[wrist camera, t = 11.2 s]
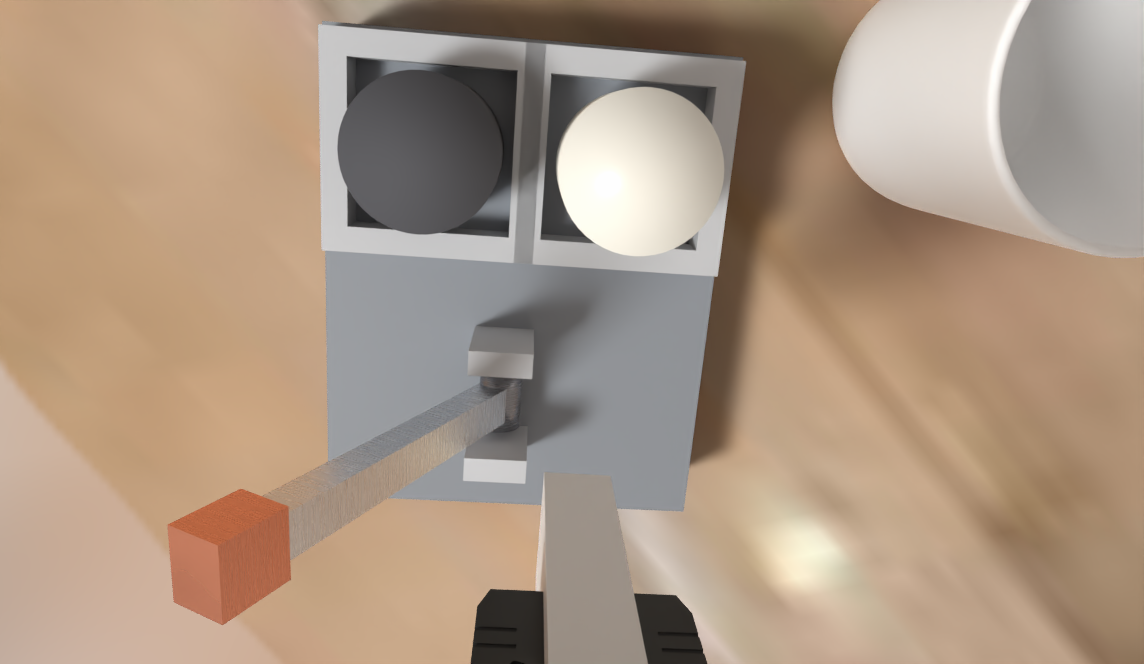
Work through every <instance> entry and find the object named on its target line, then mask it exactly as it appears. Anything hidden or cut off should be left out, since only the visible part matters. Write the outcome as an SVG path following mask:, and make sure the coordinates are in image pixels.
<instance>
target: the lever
mask: <svg viewBox="0 0 1144 664" xmlns="http://www.w3.org/2000/svg"><path fill="white" fill-rule="evenodd" d="M521 389H522V379H520V378H502V377H485V376H480V383H479V384H477V385H475V386H473V387H471V388H469V389H467V390H465V391H463V392H461V393H459V394H458V395H456V396H454V397H452V398H450V399H448V400H446V401H444V402H442V403H440V404H438V405H436V406H434V407H433V408H431V409H429V410H427V411H425V412H423V413H421V414H419V415H417V416H415V417H413V418H411V419H409V420H408V421H406V422H404V423H402V424H400V425H398V426H396V427H394V428H392V429H390V430H388V431H386V432H384V433H382V434H381V435H379V436H377V437H375V438H373V439H371V440H369V441H367V442H365V443H363V444H361V445H359V446H357V447H356V448H354V449H352V450H350V451H348V452H346V453H344V454H342V455H340V456H338V457H336V458H334V459H332V460H331V461H329V462H327V463H325V464H323V465H321V466H319V467H317V468H315V469H313V470H311V471H309V472H307V473H306V474H304V475H302V476H300V477H298V478H296V479H294V480H292V481H290V482H288V483H286V484H284V485H282V486H280V487H279V488H277V489H275V490H273V491H271V492H269V493H267V494H265V495H263V496H259V495H257V494H254V493H251V492H248V491H246V490H243V489H239V490H237V491H235V492H233V493H231V494H229V495H227V496H225V497H223V498H221V499H219V500H217V501H215V502H213V503H211V504H209V505H207V506H205V507H203V508H201V509H199V510H197V511H195V512H193V513H191V514H189V515H187V516H185V517H182V518H180V519H178V520H176V521H174V522H172V523H170V524H168V536H169V548H170V561H171V573H172V584H173V585H172V586H173V598H174V602H175V603H177V604H179V605H181V606H183V607H185V608H187V609H190V610H191V611H194V612H196V613H198V614H200V615H202V616H204V617H206V618H208V619H211V620H213V621H215V622H217V623H219V624H221V625H223V624H225V623H227V622H228V621H230V620H231V619H233V618H234V617H235V616H237V615H238V614H240V613H241V612H243V611H244V610H246V609H247V608H249V607H250V606H252V605H253V604H255V603H256V602H258V601H259V600H261V599H262V598H264V597H265V596H267V595H268V594H270V593H271V592H273V591H274V590H276V589H277V588H279V587H280V586H282V585H283V584H285V583H286V582H288V581H289V580H291V570H290V560H292V559H293V558H295V557H296V556H298V555H300V554H301V553H303V552H304V551H306V550H307V549H309V548H310V547H312V546H314V545H315V544H317V543H318V542H320V541H321V540H323V539H324V538H326V537H328V536H329V535H331V534H332V533H334V532H335V531H337V530H339V529H340V528H342V527H343V526H345V525H346V524H348V523H349V522H351V521H353V520H354V519H356V518H357V517H359V516H360V515H362V514H363V513H365V512H367V511H368V510H370V509H371V508H373V507H374V506H376V505H377V504H379V503H381V502H382V501H384V500H385V499H387V498H388V497H390V496H392V495H393V494H395V493H396V492H398V491H399V490H401V489H402V488H404V487H406V486H407V485H409V484H410V483H412V482H413V481H415V480H416V479H418V478H420V477H421V476H423V475H424V474H426V473H427V472H429V471H431V470H432V469H434V468H435V467H437V466H438V465H440V464H441V463H443V462H445V461H446V460H448V459H449V458H451V457H452V456H454V455H455V454H457V453H459V452H460V451H462V450H463V449H465V448H466V447H468V446H470V445H471V444H473V443H474V442H476V441H477V440H479V439H480V438H482V437H484V436H485V435H487V434H488V433H490V432H495V433H506V432H511V431H514V430H516V429H518V427H519V422H520V406H521Z"/></svg>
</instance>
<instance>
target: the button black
mask: <svg viewBox="0 0 1144 664" xmlns="http://www.w3.org/2000/svg"><path fill="white" fill-rule="evenodd" d="M337 151H338V161H339V166H340V171H341V174H342V177H343V179H344V182H345V184H346V186H347V188H348V190H349V192H350V193H351V195H352V196H353V198H354V199H355V201H356V202H357V203H358V204H359V205H360V207H361V208H362V209H363V210H364V211H366V212H367V213H368V214H369V215H370V216H371V217H373V218H374V219H375V220H377V221H378V222H380V223H382V224H384V225H385V226H387V227H390V228H392V229H395V230H397V231H401V232H405V233H410V234H417V235H428V234H436V233H441V232H445V231H448V230H451V229H453V228H456V227H458V226H459V225H461V224H463V223H465V222H466V221H468V220H469V219H470V218H471V217H473V216H474V215H475V214H476V213H477V212H478V211H479V210H480V209H481V208H482V206H483V205H484V204H485V202H486V201H487V200H488V198H489V196H490V194H491V192H492V191H493V189H494V187H495V185H496V183H497V181H498V179H499V176H500V173H501V170H502V166H503V159H504V142H503V135H502V132H501V128H500V125H499V123H498V120H497V118H496V116H495V114H494V113H493V111H492V109H491V108H490V106H489V105H488V104H487V102H486V101H485V100H484V99H483V98H482V97H481V96H480V95H479V94H478V93H477V92H475V91H474V90H473V89H472V88H470V87H469V86H467V85H465V84H464V83H462V82H459V81H457V80H455V79H452V78H450V77H447V76H445V75H442V74H439V73H435V72H432V71H426V70H403V71H397V72H393V73H390V74H387V75H385V76H382V77H380V78H378V79H376V80H375V81H373V82H371V83H370V84H368V85H367V86H366V87H365V88H364V89H362V90H361V91H360V92H359V94H358V95H357V96H356V97H355V98H354V99H353V101H352V102H351V104H350V105H349V107H348V108H347V110H346V112H345V114H344V116H343V119H342V122H341V125H340V129H339V134H338V145H337Z"/></svg>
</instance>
